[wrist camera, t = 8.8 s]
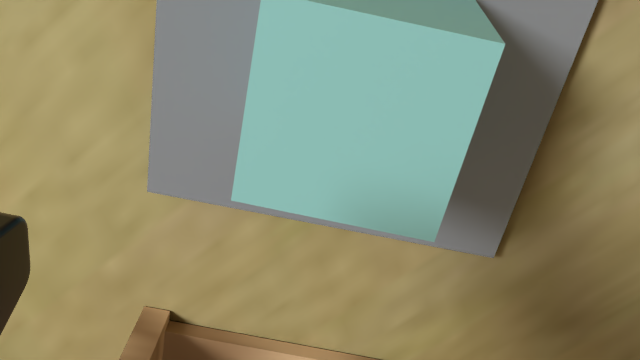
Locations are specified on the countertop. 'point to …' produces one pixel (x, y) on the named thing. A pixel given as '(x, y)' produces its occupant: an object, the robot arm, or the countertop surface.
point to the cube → (364, 109)
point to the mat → (231, 90)
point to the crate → (210, 343)
